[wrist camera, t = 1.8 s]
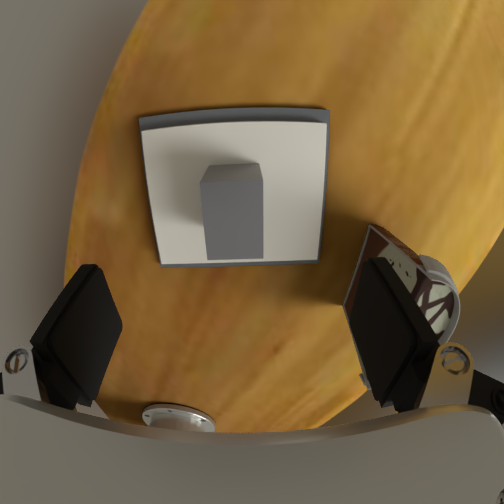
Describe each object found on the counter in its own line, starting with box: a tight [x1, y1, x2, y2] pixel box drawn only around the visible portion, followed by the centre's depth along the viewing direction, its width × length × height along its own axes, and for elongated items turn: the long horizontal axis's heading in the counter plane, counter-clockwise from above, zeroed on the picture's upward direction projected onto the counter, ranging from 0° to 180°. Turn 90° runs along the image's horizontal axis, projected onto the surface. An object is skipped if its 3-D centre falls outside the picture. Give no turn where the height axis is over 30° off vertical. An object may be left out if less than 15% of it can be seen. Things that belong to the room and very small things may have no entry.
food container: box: [342, 224, 460, 390], centre depth 21 cm, size 12×6×10 cm, turn 174°
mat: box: [139, 107, 330, 268], centre depth 21 cm, size 13×14×1 cm
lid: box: [141, 121, 327, 264], centre depth 19 cm, size 11×13×6 cm
